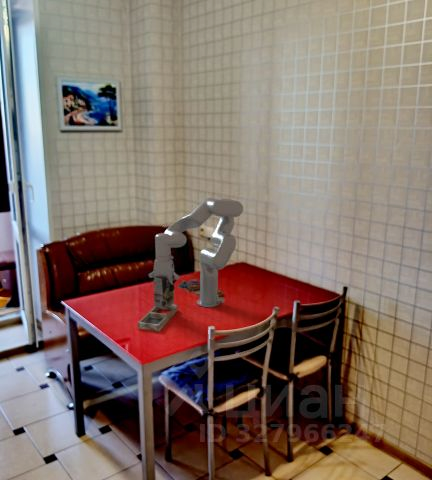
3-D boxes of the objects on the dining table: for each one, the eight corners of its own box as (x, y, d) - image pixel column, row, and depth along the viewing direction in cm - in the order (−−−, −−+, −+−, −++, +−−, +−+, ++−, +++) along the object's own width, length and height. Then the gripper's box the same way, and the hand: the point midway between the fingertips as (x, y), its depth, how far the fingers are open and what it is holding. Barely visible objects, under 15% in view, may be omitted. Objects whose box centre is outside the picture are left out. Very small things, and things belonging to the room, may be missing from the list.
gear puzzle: (230, 294, 271) (230, 288, 270) (211, 301, 260) (211, 294, 259) (194, 281, 292) (194, 275, 291) (175, 287, 281) (175, 281, 280)
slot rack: (177, 310, 245) (177, 305, 244) (159, 331, 219) (159, 325, 218) (158, 308, 247) (158, 302, 246) (137, 328, 222) (137, 322, 221)
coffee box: (163, 309, 233) (163, 279, 229) (153, 306, 237) (153, 276, 233) (174, 303, 241) (175, 274, 237) (164, 300, 244) (165, 272, 240)
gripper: (181, 256, 233) (182, 289, 238) (150, 254, 238) (151, 286, 242) (177, 261, 226) (177, 294, 231) (144, 258, 231) (145, 291, 235)
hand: (164, 290), depth 236 cm, fingers closed on coffee box, 7 cm apart
